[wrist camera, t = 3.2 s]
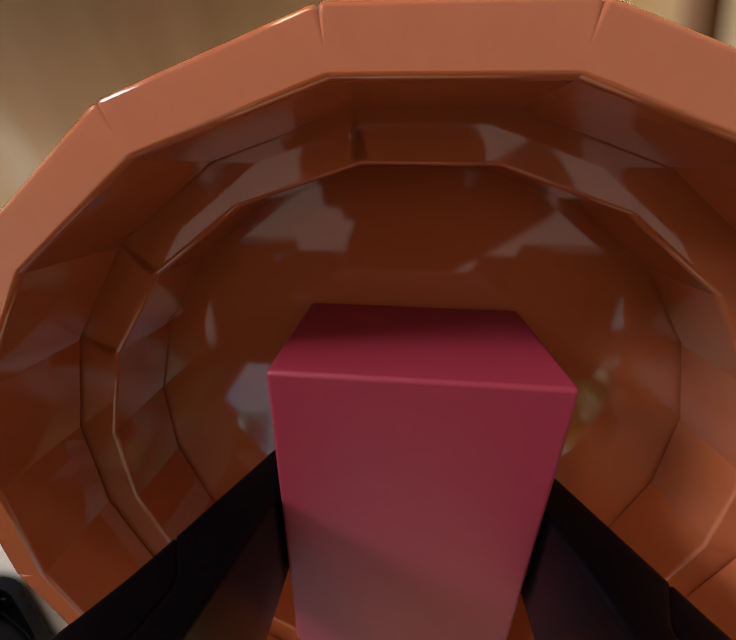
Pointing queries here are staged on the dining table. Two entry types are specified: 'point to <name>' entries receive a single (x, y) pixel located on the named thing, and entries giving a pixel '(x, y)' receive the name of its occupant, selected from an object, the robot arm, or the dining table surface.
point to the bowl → (376, 267)
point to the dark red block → (414, 467)
